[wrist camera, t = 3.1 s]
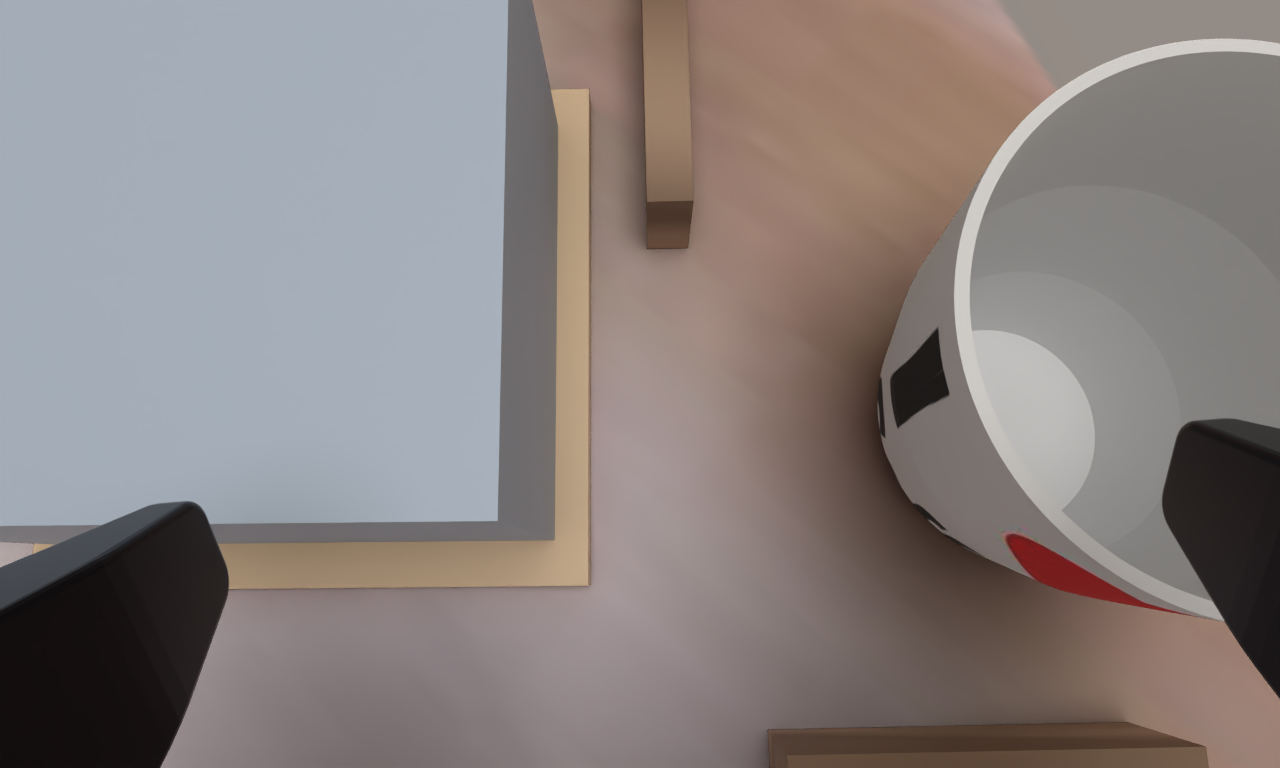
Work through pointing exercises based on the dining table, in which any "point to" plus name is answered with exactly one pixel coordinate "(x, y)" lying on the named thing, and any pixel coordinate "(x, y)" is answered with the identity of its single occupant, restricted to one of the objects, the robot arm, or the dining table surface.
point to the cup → (1097, 321)
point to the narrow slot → (984, 747)
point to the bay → (667, 123)
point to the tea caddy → (298, 286)
